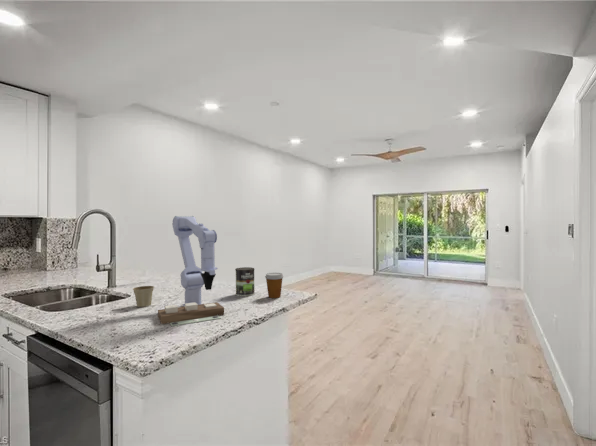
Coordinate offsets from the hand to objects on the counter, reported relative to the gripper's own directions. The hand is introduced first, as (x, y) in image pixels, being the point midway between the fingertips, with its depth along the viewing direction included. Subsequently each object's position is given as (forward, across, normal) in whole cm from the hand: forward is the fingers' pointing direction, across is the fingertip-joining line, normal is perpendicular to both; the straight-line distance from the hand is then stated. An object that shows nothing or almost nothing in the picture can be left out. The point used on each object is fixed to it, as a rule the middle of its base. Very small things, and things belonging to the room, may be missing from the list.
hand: (208, 289), depth 144 cm
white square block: (+10, 0, -1) cm, 10 cm away
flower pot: (+10, +30, +23) cm, 39 cm away
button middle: (+9, 0, +7) cm, 11 cm away
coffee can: (+11, +27, -27) cm, 40 cm away
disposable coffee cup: (+11, +13, -38) cm, 41 cm away
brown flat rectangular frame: (+10, 0, +7) cm, 13 cm away
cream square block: (+9, 0, +15) cm, 18 cm away
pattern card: (+10, -8, +7) cm, 15 cm away
